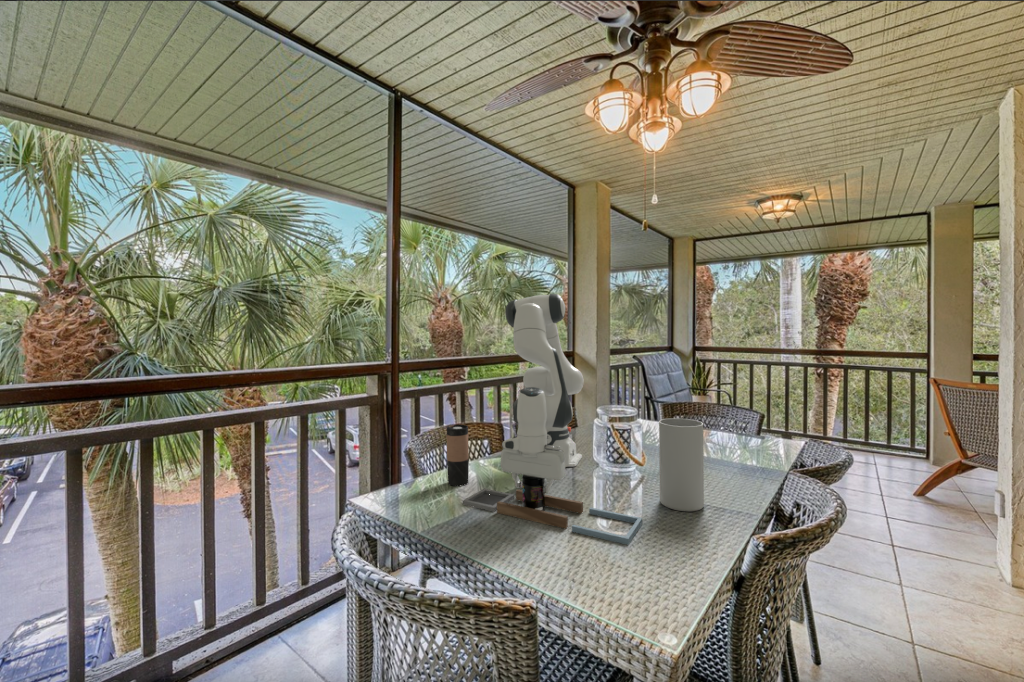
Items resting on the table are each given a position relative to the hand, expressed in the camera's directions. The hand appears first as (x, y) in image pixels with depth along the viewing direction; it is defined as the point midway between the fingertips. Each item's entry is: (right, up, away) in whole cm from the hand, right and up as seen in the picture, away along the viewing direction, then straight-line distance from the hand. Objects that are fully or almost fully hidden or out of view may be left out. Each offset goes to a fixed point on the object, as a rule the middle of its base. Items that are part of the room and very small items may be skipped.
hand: (532, 490), depth 129 cm
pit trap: (-13, -6, +8) cm, 17 cm away
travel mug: (-25, -7, +26) cm, 37 cm away
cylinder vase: (+45, -6, +4) cm, 46 cm away
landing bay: (+19, -6, -11) cm, 23 cm away
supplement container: (0, -7, 0) cm, 7 cm away
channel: (+2, -6, -1) cm, 7 cm away
